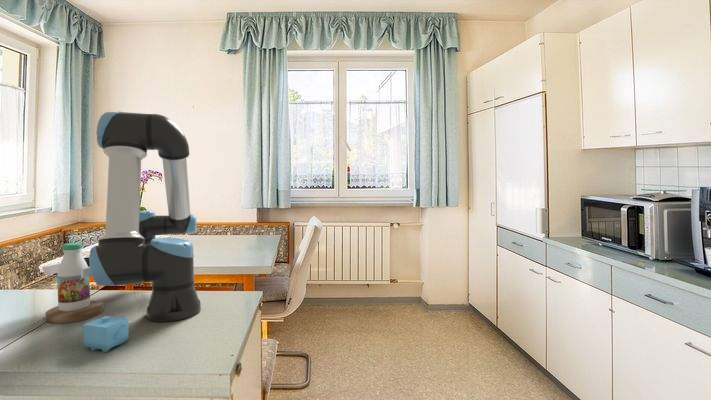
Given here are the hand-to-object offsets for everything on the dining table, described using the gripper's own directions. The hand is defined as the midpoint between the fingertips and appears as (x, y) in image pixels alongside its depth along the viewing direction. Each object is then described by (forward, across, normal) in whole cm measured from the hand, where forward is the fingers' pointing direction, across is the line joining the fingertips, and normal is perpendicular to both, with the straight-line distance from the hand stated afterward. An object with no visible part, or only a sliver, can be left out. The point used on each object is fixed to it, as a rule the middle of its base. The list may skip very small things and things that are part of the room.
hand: (63, 272), depth 106 cm
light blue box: (+12, -29, -14) cm, 34 cm away
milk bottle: (-3, 0, -12) cm, 13 cm away
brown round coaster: (-3, 0, -14) cm, 14 cm away
